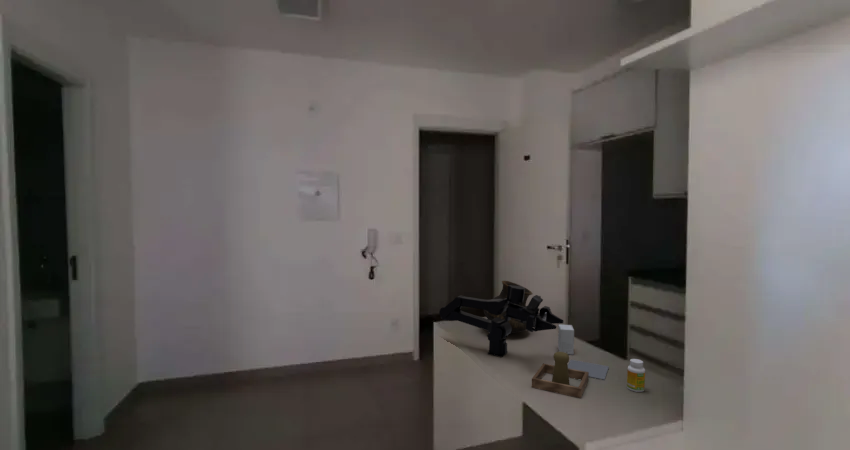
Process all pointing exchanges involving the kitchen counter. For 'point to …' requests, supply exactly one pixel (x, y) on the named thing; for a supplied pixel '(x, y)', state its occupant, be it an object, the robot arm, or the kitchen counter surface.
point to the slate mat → (589, 368)
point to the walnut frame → (559, 387)
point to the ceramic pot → (514, 323)
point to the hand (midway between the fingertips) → (559, 324)
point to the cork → (561, 368)
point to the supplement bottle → (636, 376)
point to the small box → (566, 339)
